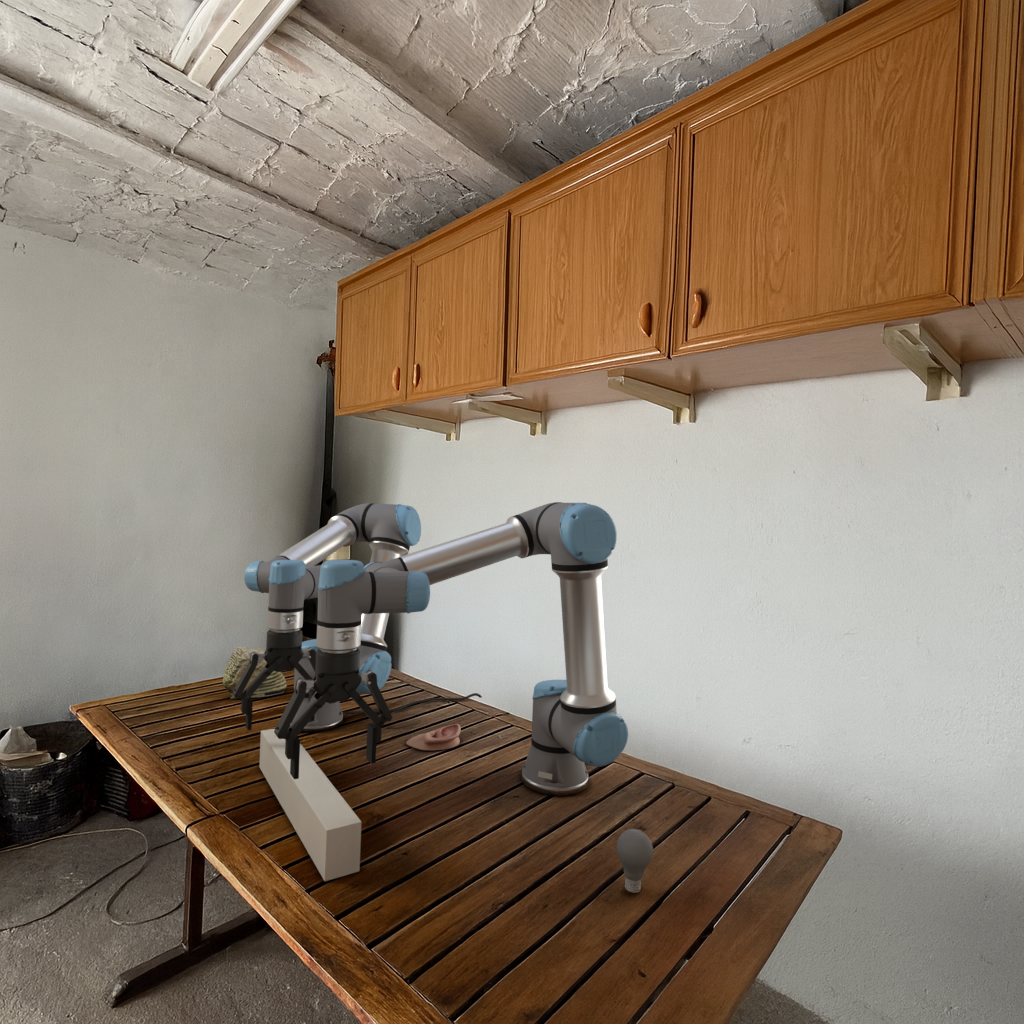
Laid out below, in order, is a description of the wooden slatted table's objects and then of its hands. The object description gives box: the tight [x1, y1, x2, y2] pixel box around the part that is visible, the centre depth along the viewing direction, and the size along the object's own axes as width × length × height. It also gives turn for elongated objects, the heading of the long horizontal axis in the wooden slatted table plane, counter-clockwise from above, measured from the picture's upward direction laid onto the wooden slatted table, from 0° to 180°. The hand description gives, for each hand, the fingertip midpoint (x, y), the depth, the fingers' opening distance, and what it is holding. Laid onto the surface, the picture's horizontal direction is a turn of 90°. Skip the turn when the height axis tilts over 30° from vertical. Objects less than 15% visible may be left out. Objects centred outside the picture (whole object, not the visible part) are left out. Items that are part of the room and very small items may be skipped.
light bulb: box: [615, 828, 654, 894], centre depth 106 cm, size 6×6×10 cm
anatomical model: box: [405, 723, 462, 751], centre depth 165 cm, size 13×4×12 cm
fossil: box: [222, 646, 288, 699], centre depth 198 cm, size 9×18×15 cm, turn 132°
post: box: [259, 728, 362, 882], centre depth 127 cm, size 50×6×9 cm, turn 33°
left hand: (280, 723), depth 142 cm, fingers open, 13 cm apart
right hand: (333, 768), depth 112 cm, fingers open, 13 cm apart
